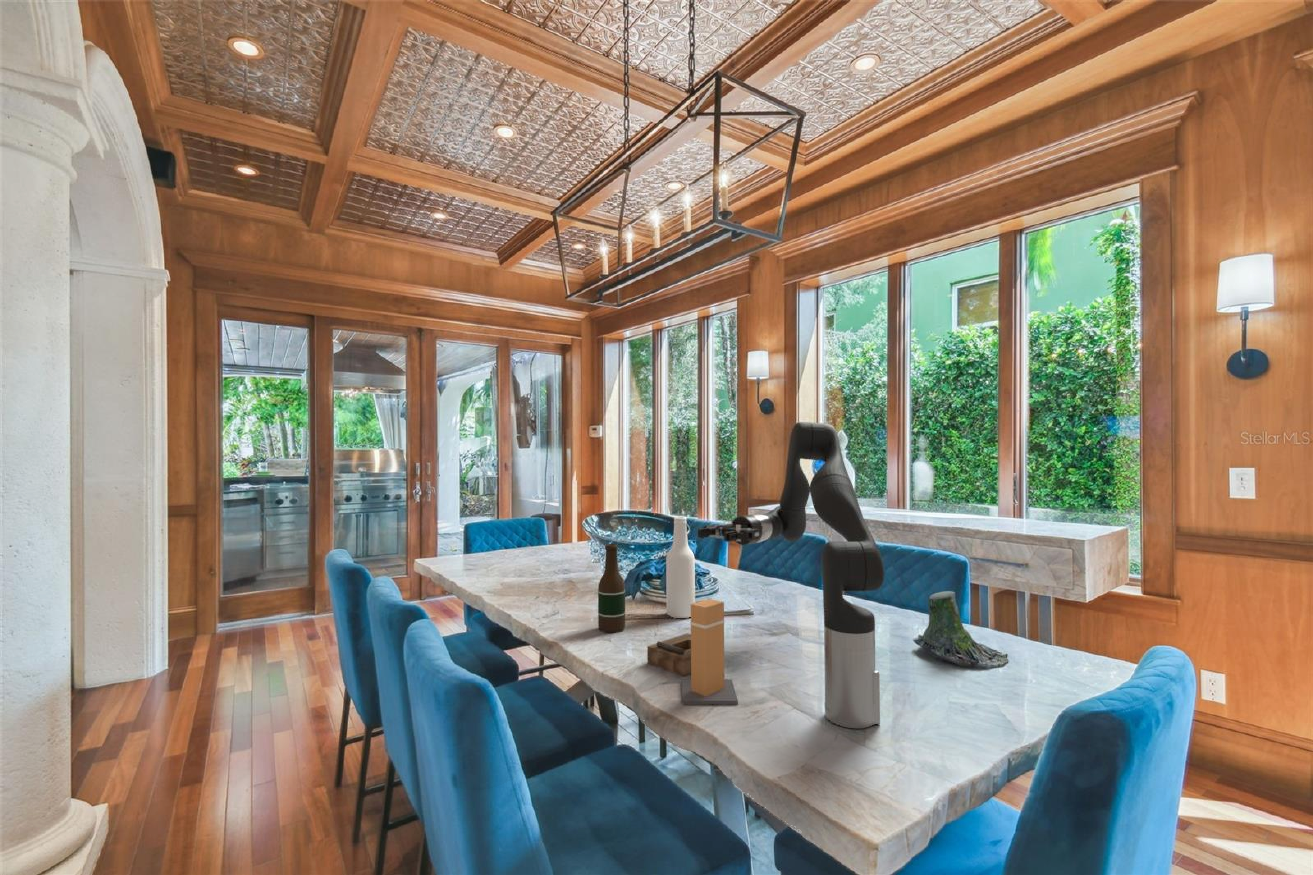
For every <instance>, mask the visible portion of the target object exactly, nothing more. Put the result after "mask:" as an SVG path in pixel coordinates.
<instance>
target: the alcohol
mask: <svg viewBox="0 0 1313 875" xmlns="http://www.w3.org/2000/svg"><path fill="white" fill-rule="evenodd" d="M687 519H688V518H687V517H686V516H675V517H673V535H672V536H673V538H672V545H671V548H670V549H669V550H668V552H667V555H666V558H665V569H666V570H665V571H666V573H665V578H666V579H665V580H666V581H665V582H666V583H665V584H666V585H665V586H666V590H665V591H666V595H665V596H666V614H667V616H668V615H670V616H671V617H673V618H672V619H676V618H686V619H690V618H689V617H691V604H693V603H696V570H695V568H696V567H695V566H696V564H695V562H696V557H695V555H694V552H693V551H692V549H691V548H690V546H689V541H688V529H687V527H688V526H687ZM671 617H670V618H671Z"/></svg>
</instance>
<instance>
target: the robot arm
mask: <svg viewBox="0 0 1313 875" xmlns="http://www.w3.org/2000/svg"><path fill="white" fill-rule="evenodd" d="M837 432H838V431H837V430H836V428H835V427H834V426H833V425H831V424H829V423H820V422H811V421H810V422H809V421H799V422H796V423H795V424H794V425H793V427H792V430H791V432H790V437H789V443H788V451H787V460H786V469H785V478H784V486H783V489H782V493H781V496H780V500H779V505H778V506H776V507H775V508H774V509H771V510H770V511H769V512H767V513H759V514H758V513H755V514H754V513H753V514H746V515H740V516H739V515H738V516H737V517H735V518H734V519H733V520H732V521H731V522H730V523H729V522H728V523H725V524H720V523H717V524H711V525H703V526H702V528H698V529H697V537H698V539H704V538H716V539H721V540H722V539H723V540H724V542H725V543H729V542H735V543H736V544H738V545H741V546H748V545H753V544H758V543H761V542H764V541H768V540H773V539H776V538H778V537H780V536H781V537H783V539H785V540H786V541H788V542H796V541H799V539H801V538H802V536H804V534H805V532H806V528H807V516H806V515H807V514H806V512H807V511H806V507H807V504H808V500H809V498H811V501H812V505H813V506H812V507H813V509H814V511H815V513H816V515H817V516H818V517H819V518H820V520H822V521H823V522H824V523H825V524H826V525H828V526H829V527H830V528H832V529H833V530H834V531H835V532H836V533H838V534H840V535H841V536H842V537H843V538H844V539H845V540H846V541H827V542H826V543H825V544H824V545H823V547H822V549H821V554H820V555H821V558H820V564H821V565H820V566H821V567H820V568H821V581H822V582H821V583H822V594H823V595H822V596H823V597H822V598H823V602H822V603H823V645H824V646H823V647H824V648H823V649H824V650H823V654H824V659H823V660H824V664H823V665H824V715H825V718H826V719H827V720H828V721H829V720H830V721H829V722H831V723H833V724H834V723H835V725H837V726H839V725H840V726H841V727H843V728H850V729H867V728H870V726H871V727H873V726H875V725H874V724H880V725H881V702H880V701H881V697H880V695H881V694H880V693H881V692H880V691H881V690H880V683H881V682H880V681H881V680H880V679H881V678H880V672H879V671H878V670H877V669H876V627H875V626H876V618H875V615H874V613H873V612H872V611H871V610H869V609H867V608H865V607H862V606H859V605H857V604H855V603H851V602H850V601H847V599H845V598H844V596H843V592H871V591H877V590H878V589H880V588H881V587H882V586H883V583H884V581H885V567H884V562H883V558H882V555H881V552H880V549H879V547H878V545H877V543H876V541H875V539H874V537H873V534H872V533H871V531H870V528H869V527H868V525H867V523H866V521H865V518H864V516H863V513H862V510H861V507H860V505H859V504H860V503H859V502H858V501H859V500H858V497H857V494H856V491H855V488H854V486H853V483H852V481H851V479H850V476H849V473H848V470H847V467H846V464H845V462H844V458H843V455H842V454H843V453H842V449H841V444H840V439H839V436H838V433H837ZM801 459H802V460H811V461H821V462H824V463H823V464H822V465H821V467H820V468H819V469H818V470H817V471H816V472H815V473H814V475H813V477H812V479H811V481H809V479H808V478H807V476H806V474H805V473H804V471H803V468H802V466H801ZM809 482H810V483H809ZM720 534H721V535H720ZM872 725H873V726H872ZM840 726H839V727H840ZM866 727H867V728H866Z"/></svg>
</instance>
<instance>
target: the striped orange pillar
mask: <svg viewBox="0 0 1313 875" xmlns="http://www.w3.org/2000/svg"><path fill="white" fill-rule="evenodd" d="M690 634H691V674H690V677H691V678H690V679H691V691H693V692H695V693H698V694H701V695H703V696H708V695H711V694H713V693H715V692H717V691H719V690H721V689H724V688H725V679H726V678H725V602H724V601H720V600H716V599H712V598H708V599H704V600H700V601H695V603H693V604H691V618H690Z"/></svg>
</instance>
